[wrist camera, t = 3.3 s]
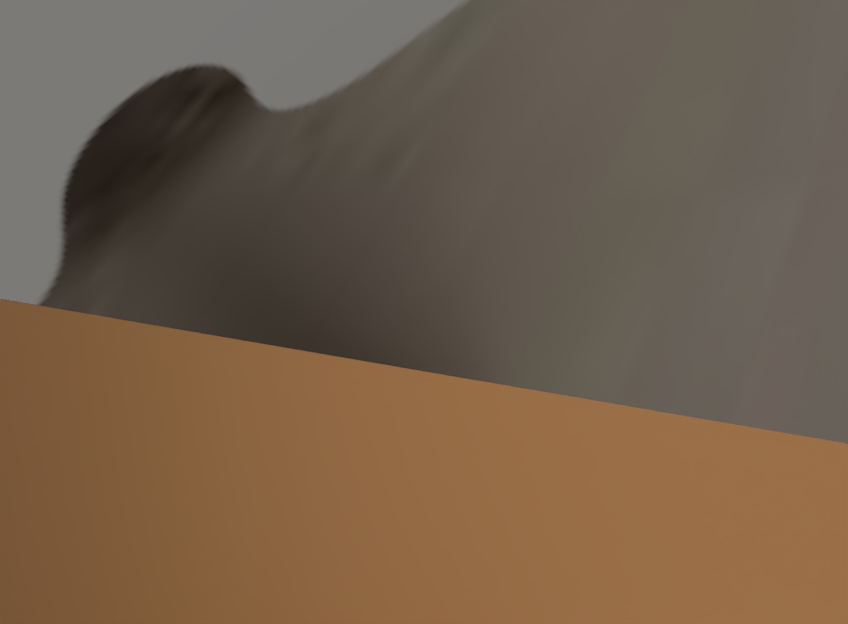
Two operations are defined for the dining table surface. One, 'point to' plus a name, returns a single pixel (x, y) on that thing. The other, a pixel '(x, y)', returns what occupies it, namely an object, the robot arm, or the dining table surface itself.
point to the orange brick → (383, 494)
